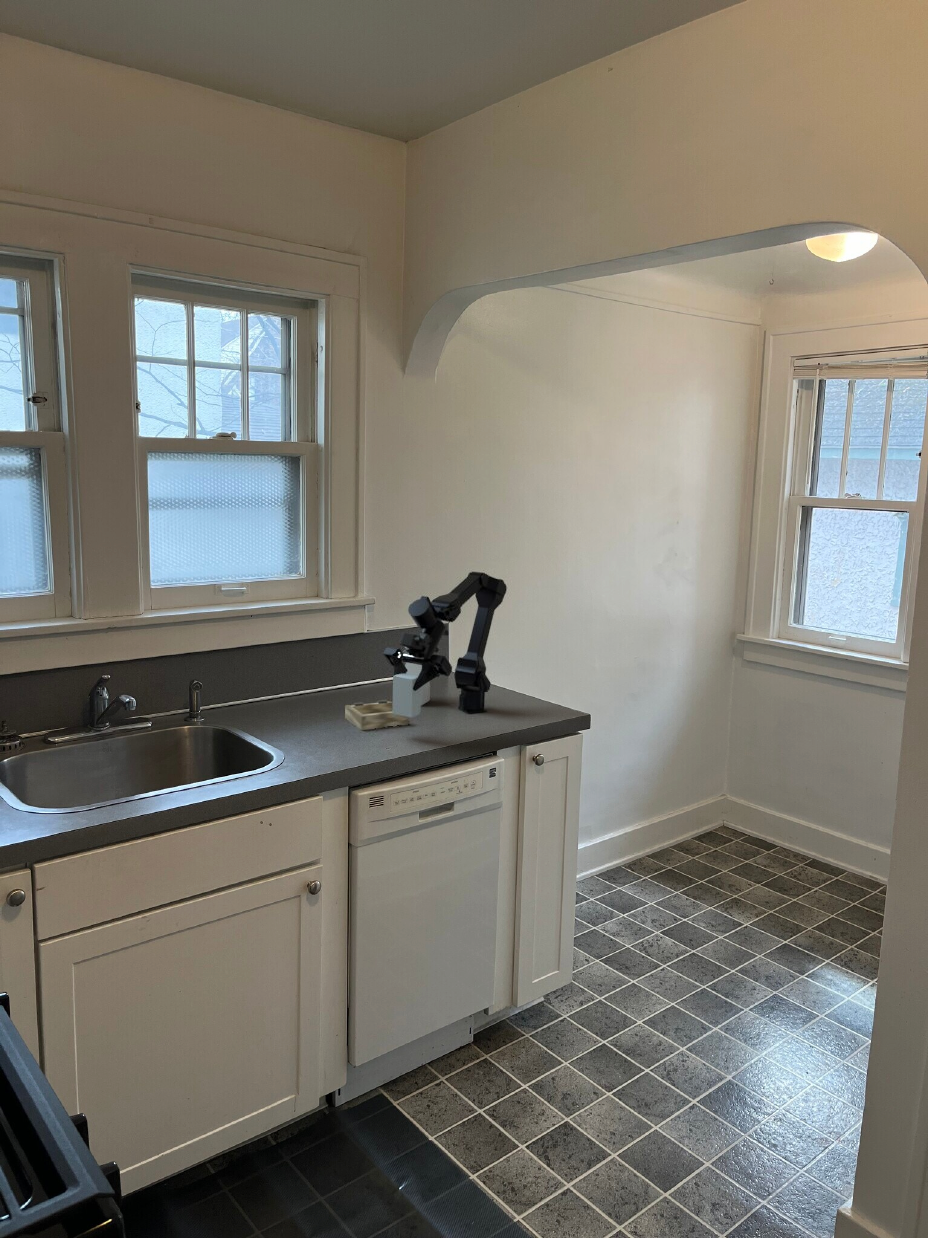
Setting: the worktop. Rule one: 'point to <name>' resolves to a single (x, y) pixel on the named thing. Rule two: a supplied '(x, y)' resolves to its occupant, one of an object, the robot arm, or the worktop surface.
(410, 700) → the pale blue box
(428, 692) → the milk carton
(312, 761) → the worktop surface
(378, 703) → the wooden tray
